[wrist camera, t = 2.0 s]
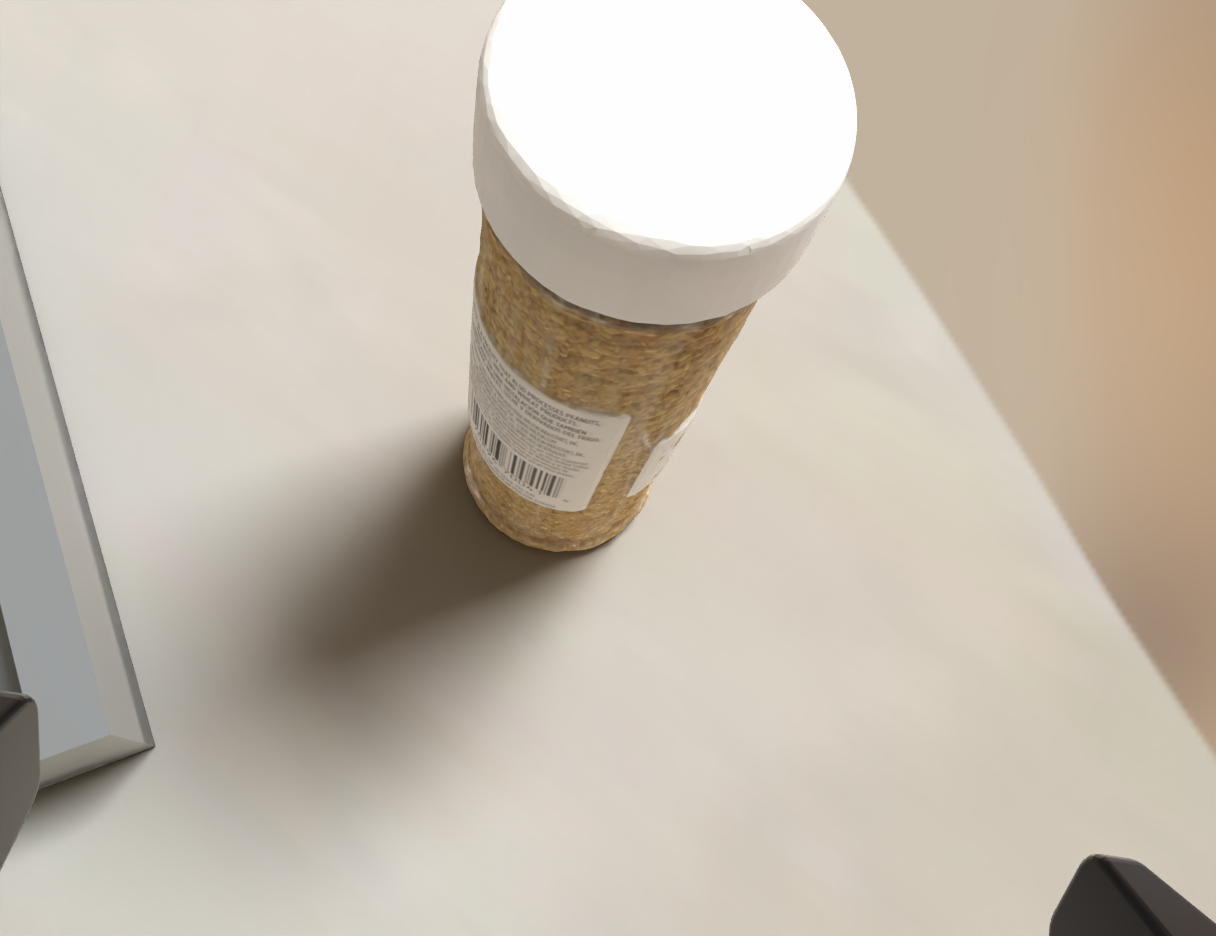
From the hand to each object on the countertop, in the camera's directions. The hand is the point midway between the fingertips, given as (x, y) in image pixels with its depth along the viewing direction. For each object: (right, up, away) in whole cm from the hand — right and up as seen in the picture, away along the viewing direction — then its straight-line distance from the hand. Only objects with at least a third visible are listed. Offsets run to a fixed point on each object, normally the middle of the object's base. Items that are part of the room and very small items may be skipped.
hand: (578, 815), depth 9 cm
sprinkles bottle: (-1, +3, +16) cm, 16 cm away
